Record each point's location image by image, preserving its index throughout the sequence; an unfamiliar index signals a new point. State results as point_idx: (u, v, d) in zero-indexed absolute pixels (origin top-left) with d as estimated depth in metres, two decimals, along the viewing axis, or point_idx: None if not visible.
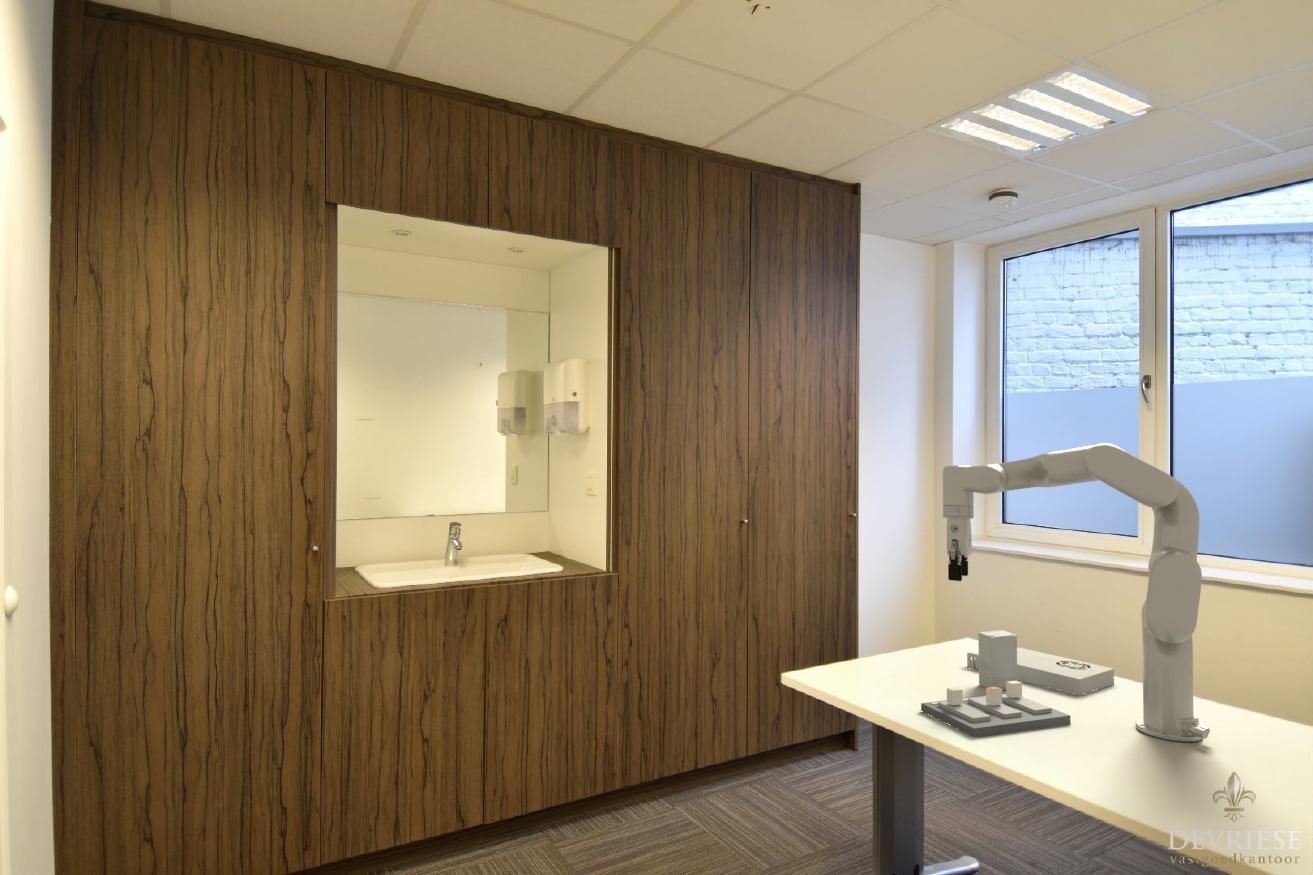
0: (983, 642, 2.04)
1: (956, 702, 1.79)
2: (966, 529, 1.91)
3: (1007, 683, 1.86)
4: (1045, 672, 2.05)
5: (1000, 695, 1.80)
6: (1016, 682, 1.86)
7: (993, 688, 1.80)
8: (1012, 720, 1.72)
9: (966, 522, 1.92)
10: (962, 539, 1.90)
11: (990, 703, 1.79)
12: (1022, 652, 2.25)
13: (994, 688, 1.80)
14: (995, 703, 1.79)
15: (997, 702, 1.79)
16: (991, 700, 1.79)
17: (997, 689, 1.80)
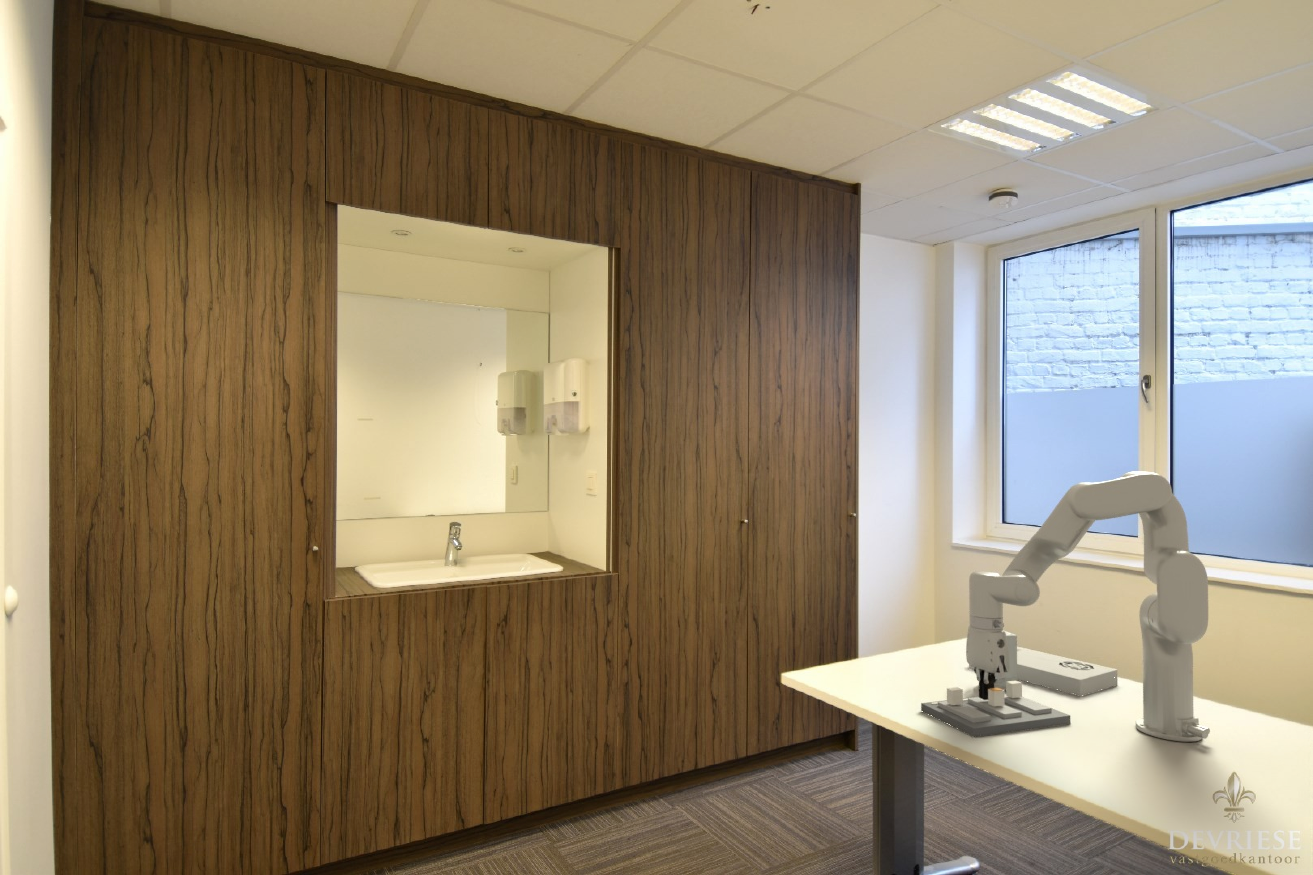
0: None
1: (956, 702, 1.79)
2: None
3: (1007, 683, 1.86)
4: (1046, 672, 2.05)
5: (1002, 696, 1.79)
6: (1016, 682, 1.86)
7: (995, 689, 1.79)
8: (1012, 720, 1.72)
9: None
10: (1007, 654, 1.79)
11: (992, 704, 1.79)
12: (1026, 652, 2.24)
13: (996, 689, 1.79)
14: (997, 704, 1.78)
15: (1000, 703, 1.79)
16: (993, 701, 1.78)
17: (999, 690, 1.79)
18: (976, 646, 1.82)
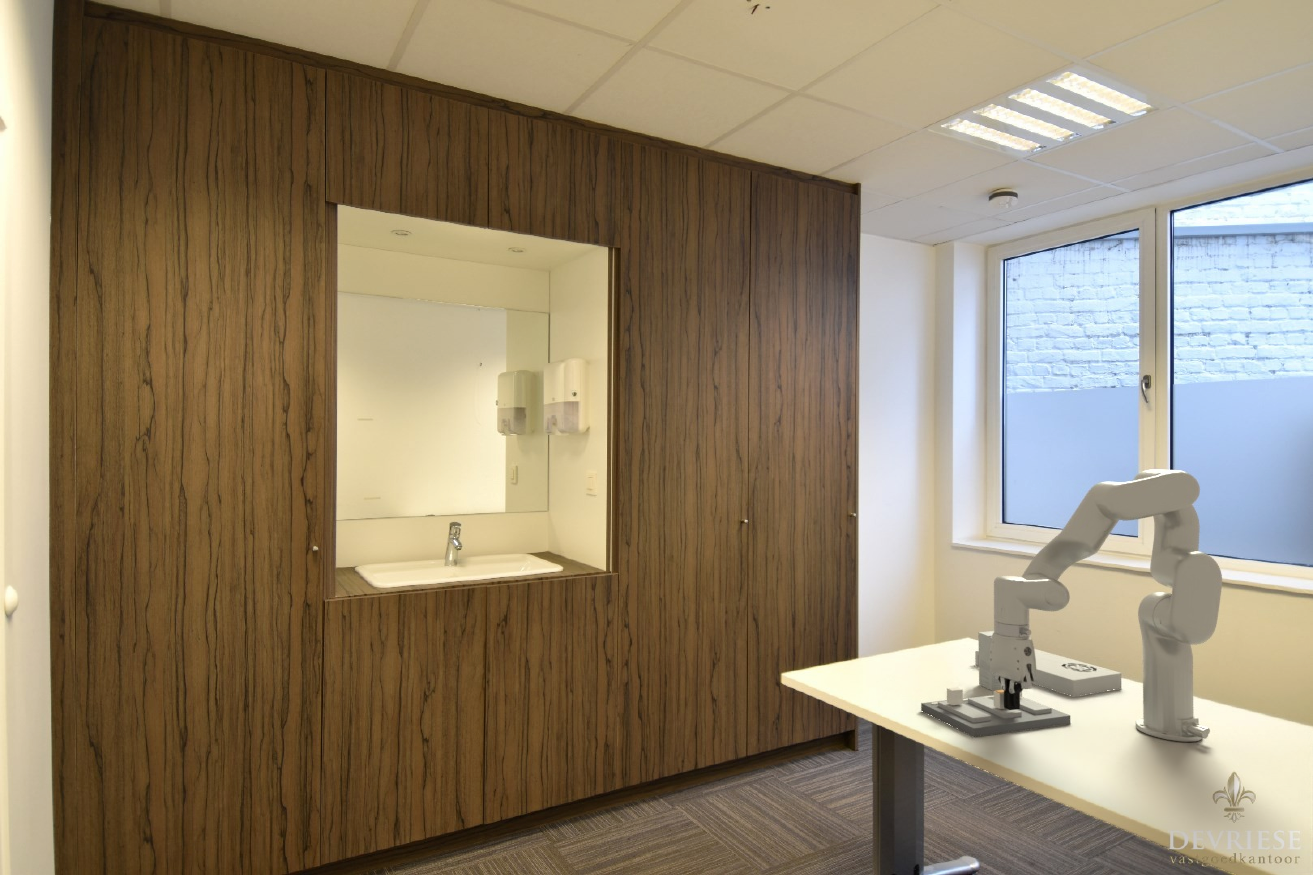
0: (983, 642, 2.04)
1: (956, 702, 1.79)
2: None
3: None
4: (1043, 672, 2.05)
5: None
6: None
7: (1001, 691, 1.78)
8: (1012, 720, 1.72)
9: None
10: (1034, 662, 1.71)
11: (998, 706, 1.77)
12: None
13: (1002, 691, 1.78)
14: (1003, 706, 1.77)
15: None
16: (999, 703, 1.77)
17: None
18: (1002, 654, 1.75)
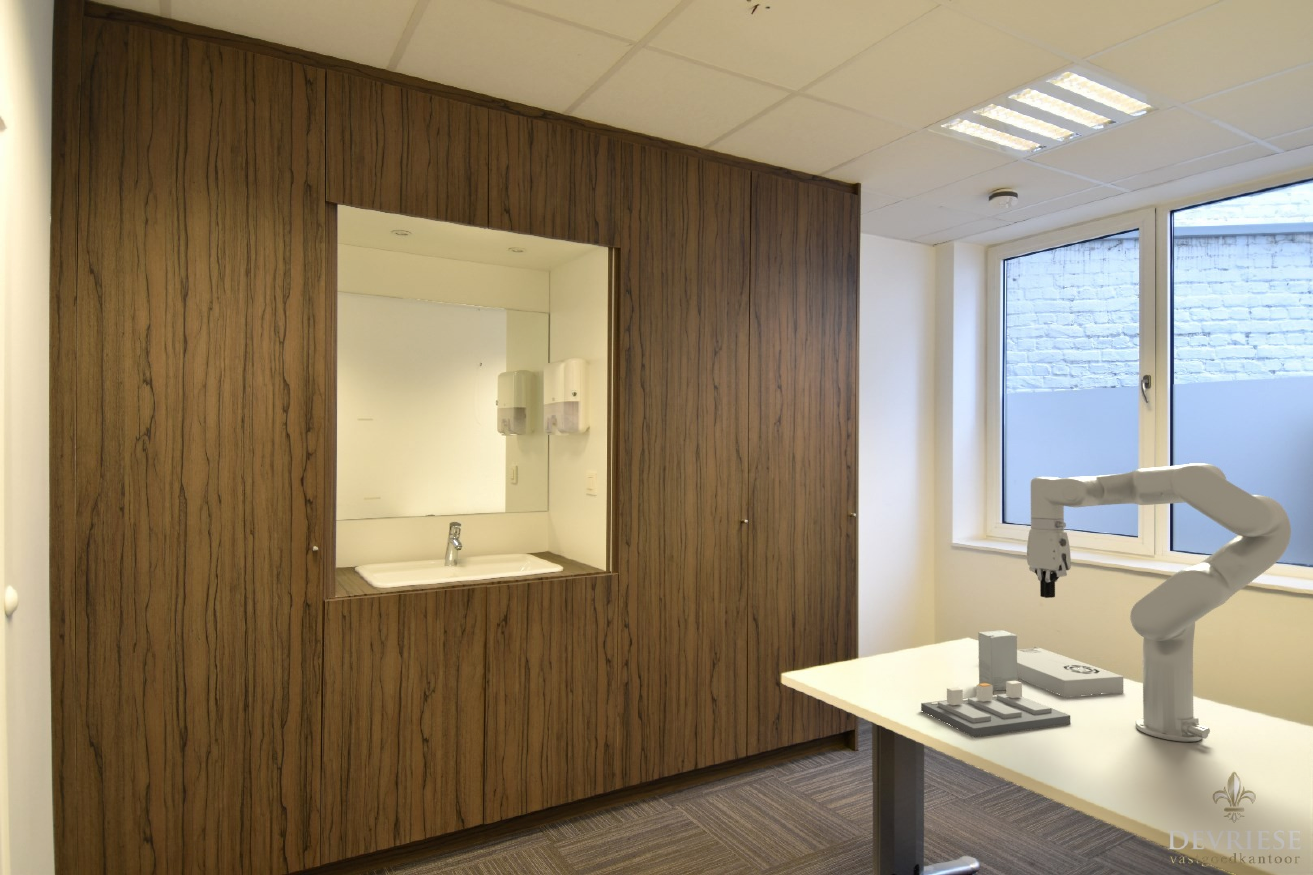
0: (983, 642, 2.04)
1: (956, 702, 1.79)
2: None
3: (1007, 683, 1.86)
4: (1039, 672, 2.05)
5: (990, 691, 1.82)
6: (1016, 682, 1.86)
7: (984, 684, 1.83)
8: (1012, 720, 1.72)
9: None
10: (1069, 552, 1.88)
11: (981, 699, 1.82)
12: (1043, 654, 2.22)
13: (985, 684, 1.83)
14: (986, 699, 1.82)
15: (988, 698, 1.82)
16: (982, 696, 1.82)
17: (988, 685, 1.83)
18: (1038, 547, 1.91)
